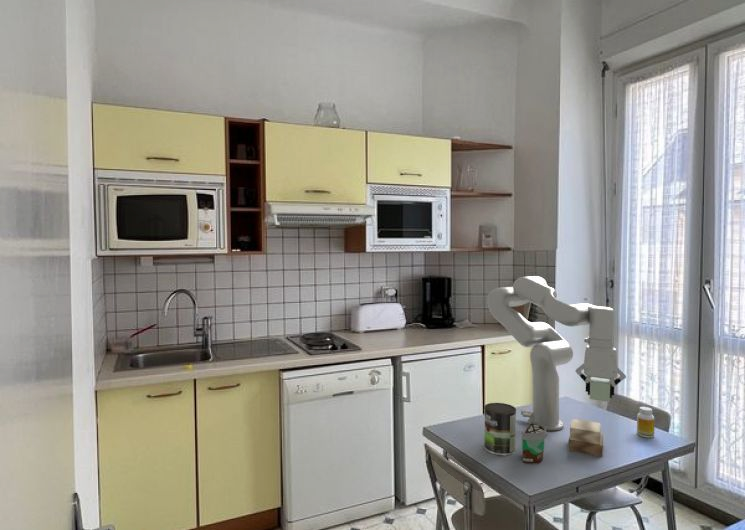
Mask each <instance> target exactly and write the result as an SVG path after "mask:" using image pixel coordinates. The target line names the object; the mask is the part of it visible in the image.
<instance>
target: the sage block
mask: <svg viewBox="0 0 745 530" xmlns="http://www.w3.org/2000/svg"><path fill="white" fill-rule="evenodd" d="M610 399H611V398H610V380H609V379H607V378H599V377H591V379H590V395H589V400H592V401H593V400H594V401H601V402H607V403H611V402H610V401H611V400H610Z"/></svg>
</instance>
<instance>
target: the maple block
mask: <svg viewBox="0 0 745 530" xmlns="http://www.w3.org/2000/svg"><path fill="white" fill-rule="evenodd" d="M569 425H570V426H569V437H570V440H576V441H582V442H588V443H594V444H600V436H601V434H602V433H601V431H602V430H601V425H602V424H601V422H596V421H590V420H583V419H576V418H575V419H574V418H571V421H570V424H569Z"/></svg>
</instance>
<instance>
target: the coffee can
mask: <svg viewBox="0 0 745 530" xmlns="http://www.w3.org/2000/svg"><path fill="white" fill-rule="evenodd" d="M483 408H484V439H483V440H484V442H483V443H484V444H483V445H484V446H483V447H484V450H485V451H486V452H487V453H489V454H492V455H496V456H501V457H502V456H503V457H504V456H506V457H507V456H512V455H514V454H516V433H517V432H516V428H517V427H516V423H517V421H516V420H517V416H516V415H517V408H516V407H515V406H514V405H511V404H507V403H504V402H502V403H501V402H490V403H486V404H485V405H484V407H483Z"/></svg>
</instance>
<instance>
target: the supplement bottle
mask: <svg viewBox="0 0 745 530" xmlns="http://www.w3.org/2000/svg"><path fill="white" fill-rule="evenodd" d="M638 409H639V412H638V413H637V415H636V433H637V436H640V437H643V438H646V439H647V438H649V439H650V438H652V439H653V438H654V437H655V416H654V415H653V409H652V408H651V407H647V406H640V407H639V408H638Z"/></svg>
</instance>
